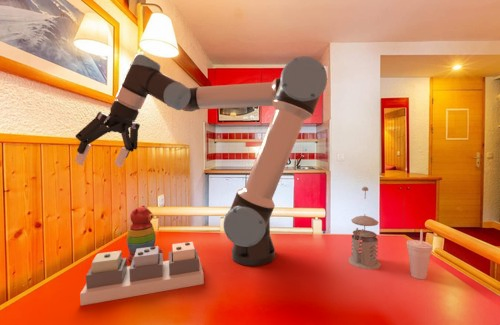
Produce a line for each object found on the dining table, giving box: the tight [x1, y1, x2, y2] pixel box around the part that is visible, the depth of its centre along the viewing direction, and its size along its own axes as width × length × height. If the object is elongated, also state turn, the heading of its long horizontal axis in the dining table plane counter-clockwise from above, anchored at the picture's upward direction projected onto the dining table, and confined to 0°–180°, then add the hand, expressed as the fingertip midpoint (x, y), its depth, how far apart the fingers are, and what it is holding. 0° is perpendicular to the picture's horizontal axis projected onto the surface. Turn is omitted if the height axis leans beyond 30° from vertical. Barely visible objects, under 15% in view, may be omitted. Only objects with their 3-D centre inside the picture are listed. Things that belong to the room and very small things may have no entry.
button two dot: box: [172, 241, 195, 262], centre depth 75 cm, size 6×6×4 cm
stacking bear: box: [126, 205, 163, 263], centre depth 90 cm, size 11×10×18 cm
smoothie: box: [406, 228, 434, 280], centre depth 74 cm, size 6×6×14 cm
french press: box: [348, 186, 382, 270], centre depth 82 cm, size 10×12×25 cm
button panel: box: [79, 247, 205, 306], centre depth 73 cm, size 30×12×6 cm, turn 108°
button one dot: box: [91, 250, 123, 273], centre depth 69 cm, size 6×6×4 cm
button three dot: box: [134, 245, 160, 267], centre depth 72 cm, size 6×6×4 cm
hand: (99, 164), depth 81 cm, fingers open, 13 cm apart
